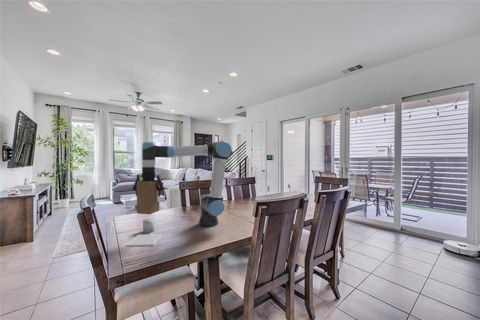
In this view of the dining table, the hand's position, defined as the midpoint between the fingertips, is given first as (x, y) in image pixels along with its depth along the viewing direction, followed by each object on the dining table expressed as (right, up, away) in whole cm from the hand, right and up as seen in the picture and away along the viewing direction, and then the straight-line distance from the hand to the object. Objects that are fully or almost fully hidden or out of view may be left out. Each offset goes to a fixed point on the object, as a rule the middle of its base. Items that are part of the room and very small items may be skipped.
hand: (148, 201), depth 129 cm
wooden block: (0, -7, 0) cm, 7 cm away
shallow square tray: (-2, -25, -1) cm, 25 cm away
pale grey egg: (-7, -25, +15) cm, 30 cm away
